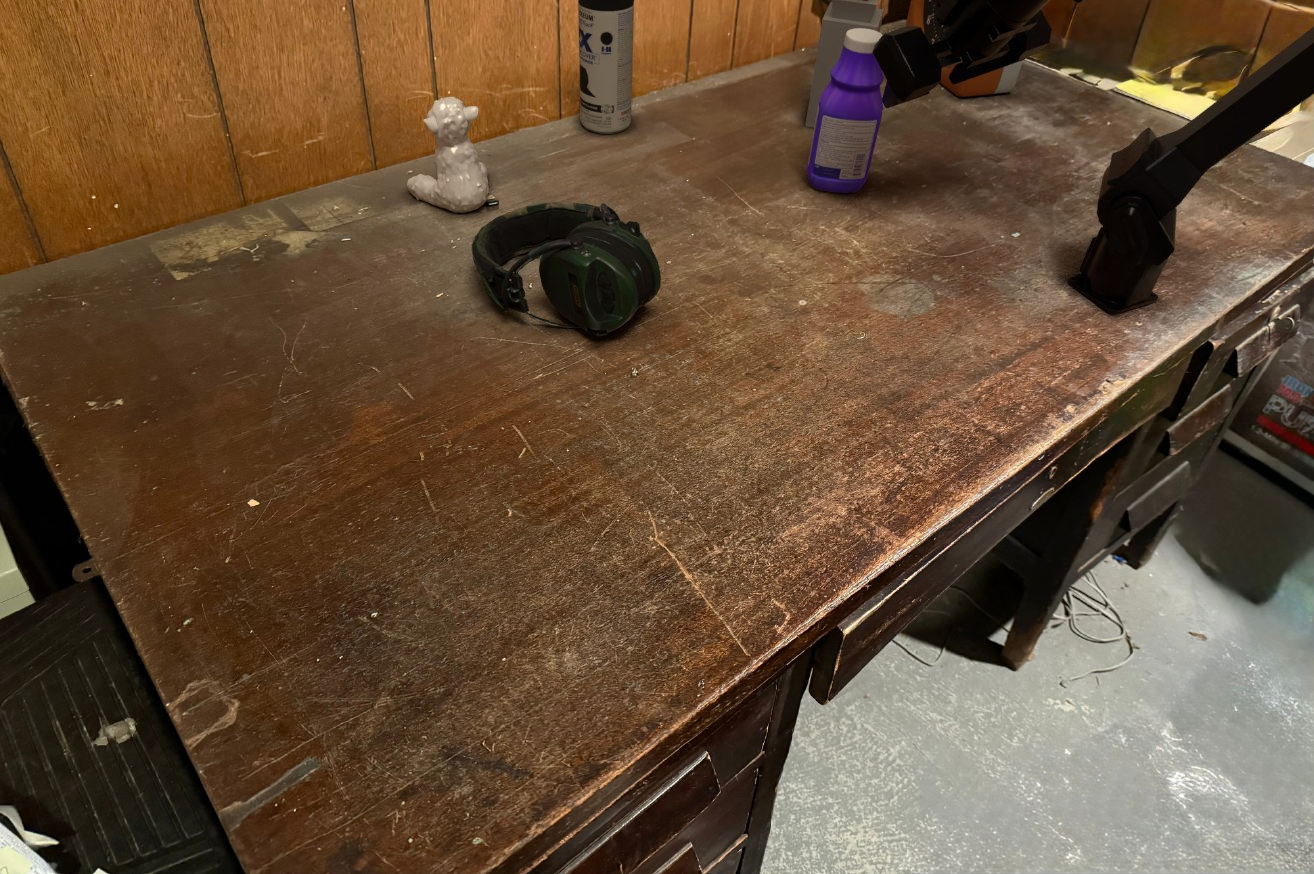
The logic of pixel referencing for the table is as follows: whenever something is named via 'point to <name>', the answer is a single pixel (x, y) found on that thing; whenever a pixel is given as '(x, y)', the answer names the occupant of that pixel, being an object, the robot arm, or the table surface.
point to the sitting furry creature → (452, 160)
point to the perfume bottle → (838, 41)
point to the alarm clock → (980, 85)
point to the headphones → (570, 263)
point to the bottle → (848, 117)
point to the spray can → (605, 64)
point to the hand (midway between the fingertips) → (918, 92)
